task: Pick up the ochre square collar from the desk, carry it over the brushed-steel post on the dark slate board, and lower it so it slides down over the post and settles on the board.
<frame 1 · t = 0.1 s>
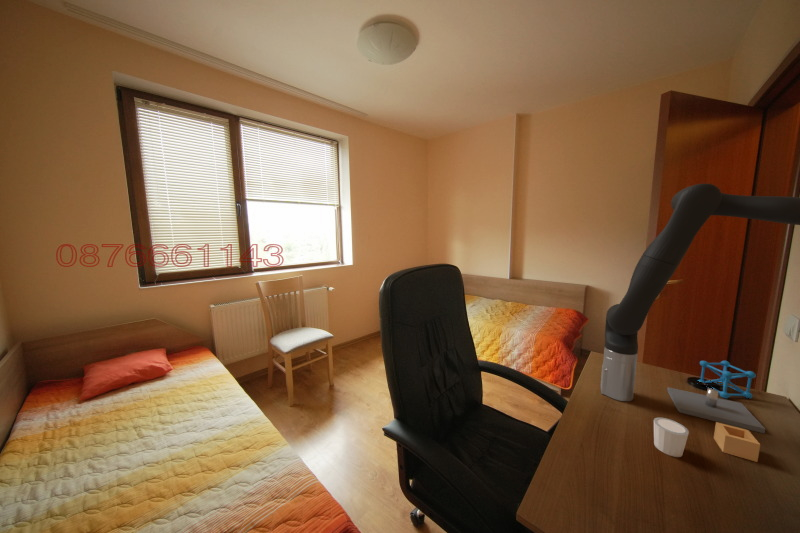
steel post: (711, 397, 90), on the post board, point 4 cm above the table
ochre collar: (734, 449, 74), on the table
molecular structure: (723, 392, 100), on the table
post board: (710, 409, 90), on the table
shot glass: (667, 449, 75), on the table
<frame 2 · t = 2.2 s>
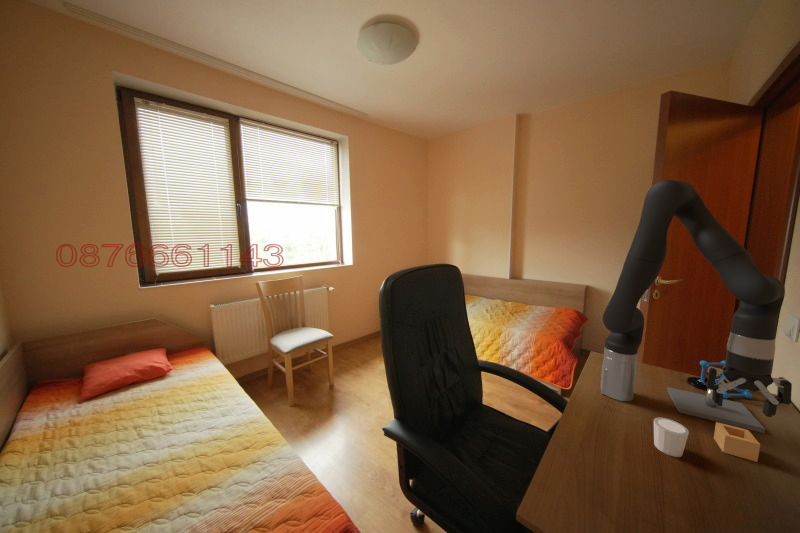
hand: (741, 409, 72), 12 cm above the table, fingers open, 8 cm apart
nothing on the table moved.
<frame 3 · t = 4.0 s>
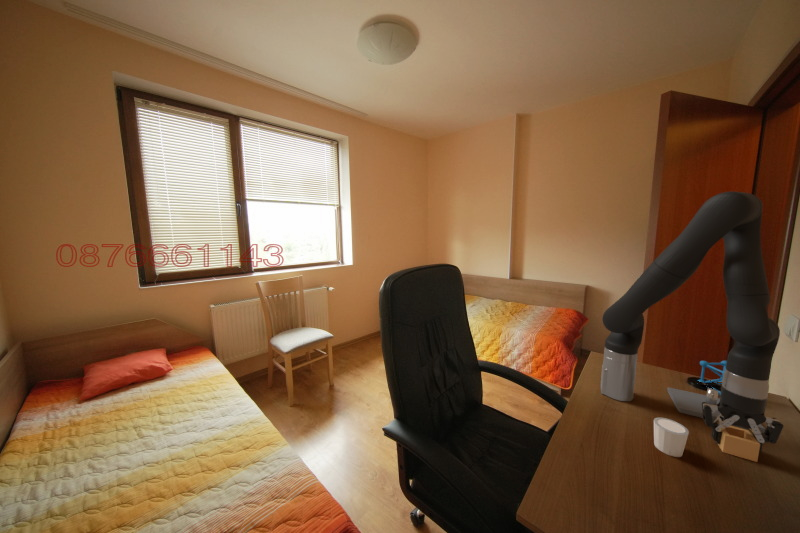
hand: (734, 446, 74), 1 cm above the table, fingers closed on ochre collar, 6 cm apart
ochre collar: (734, 449, 74), on the table, touching gripper
everything else where it was.
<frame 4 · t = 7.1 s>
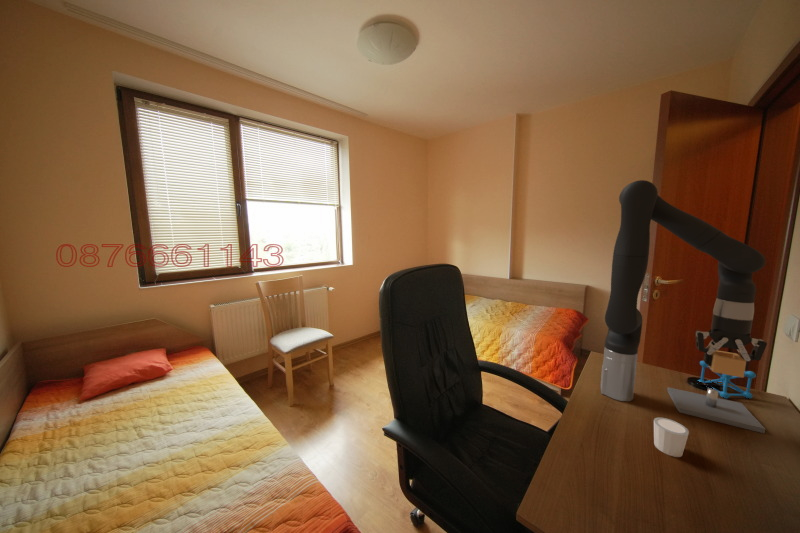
hand: (724, 367, 83), 18 cm above the table, fingers closed on ochre collar, 6 cm apart
ochre collar: (723, 370, 83), point 17 cm above the table, touching gripper
everything else where it was.
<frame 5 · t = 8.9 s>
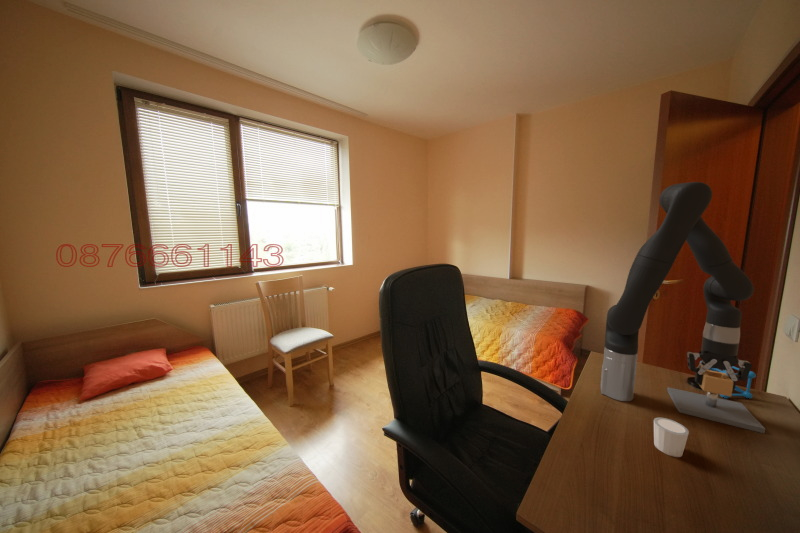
hand: (713, 386, 89), 8 cm above the table, fingers closed on ochre collar, 6 cm apart
ochre collar: (713, 389, 89), point 7 cm above the table, touching gripper
everything else where it was.
when the fingers open (4 cm above the table, at t = 10.2 s): ochre collar drops 2 cm, resting on post board.
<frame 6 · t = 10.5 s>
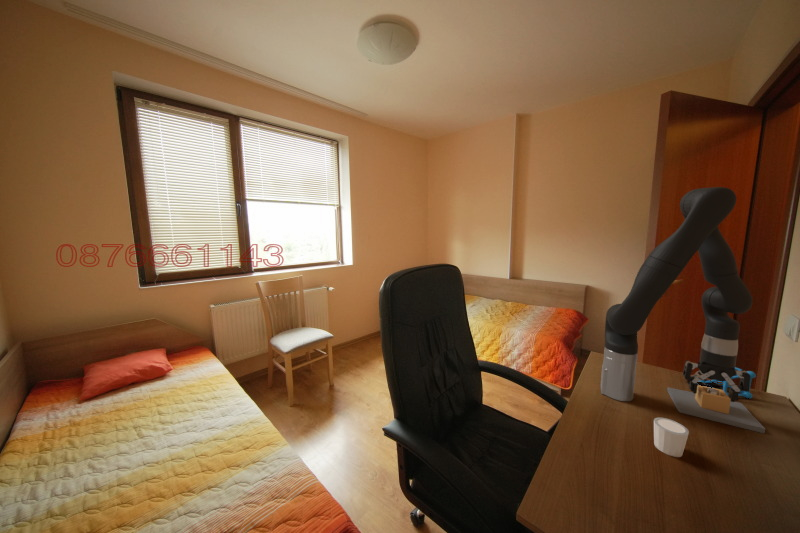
hand: (712, 396, 90), 5 cm above the table, fingers open, 8 cm apart
ochre collar: (710, 405, 90), point 1 cm above the table, touching post board
everything else where it was.
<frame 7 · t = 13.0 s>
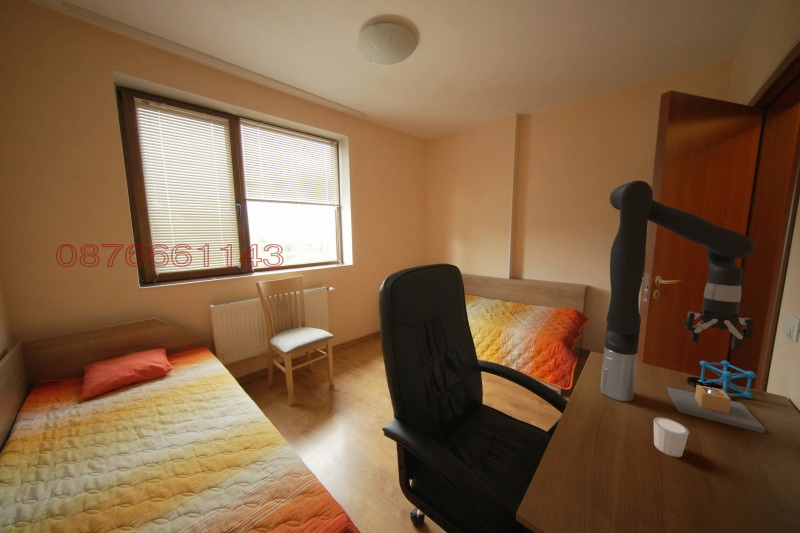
hand: (714, 345, 89), 22 cm above the table, fingers open, 8 cm apart
nothing on the table moved.
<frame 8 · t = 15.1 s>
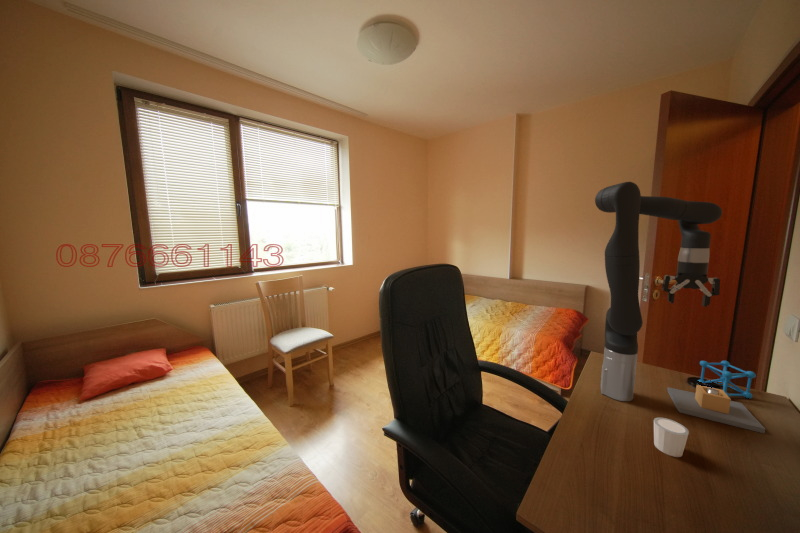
hand: (687, 304, 100), 32 cm above the table, fingers open, 8 cm apart
nothing on the table moved.
at the end: ochre collar 0.0 cm off-centre on the steel post, point 1.5 cm above the steel post's base; ochre collar tilted 0°; the gripper is holding nothing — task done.
